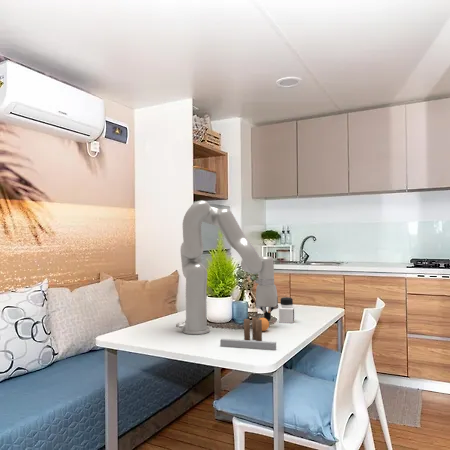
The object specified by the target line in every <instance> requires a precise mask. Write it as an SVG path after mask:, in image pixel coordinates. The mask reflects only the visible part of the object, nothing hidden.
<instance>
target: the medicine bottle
mask: <svg viewBox="0 0 450 450" xmlns="http://www.w3.org/2000/svg"><path fill="white" fill-rule="evenodd" d="M293 303H294V302H293V298H292V297H288V296H285V297H284V296H283V297H281V298H280V306H279V307H278V317H279V318H278V320H279V321H278V322H279V323H280V324H294V322H295V306H294V305H293Z"/></svg>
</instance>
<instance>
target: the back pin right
mask: <svg viewBox="0 0 450 450" xmlns="http://www.w3.org/2000/svg"><path fill="white" fill-rule="evenodd" d="M255 341H263V331H262V320H260V319H259V318H258V320H256V340H255Z"/></svg>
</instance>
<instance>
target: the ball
mask: <svg viewBox="0 0 450 450" xmlns="http://www.w3.org/2000/svg"><path fill="white" fill-rule="evenodd" d="M258 319H260V320H262V332H265V331H267V330H268V329H269V327H270V321H268V320H267V319H266V318H264V317H259V318H258Z"/></svg>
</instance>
